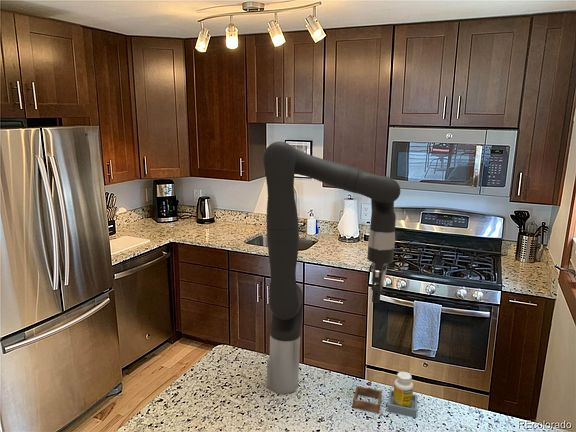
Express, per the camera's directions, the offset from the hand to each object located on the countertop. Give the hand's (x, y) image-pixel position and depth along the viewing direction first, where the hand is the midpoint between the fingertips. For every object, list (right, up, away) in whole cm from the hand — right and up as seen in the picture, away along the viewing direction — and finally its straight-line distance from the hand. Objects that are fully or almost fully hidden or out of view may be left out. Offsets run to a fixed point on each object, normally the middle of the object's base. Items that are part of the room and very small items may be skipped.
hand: (377, 297), depth 131 cm
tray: (+7, -31, -3) cm, 32 cm away
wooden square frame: (-3, -31, -2) cm, 31 cm away
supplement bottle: (+7, -31, -3) cm, 32 cm away
